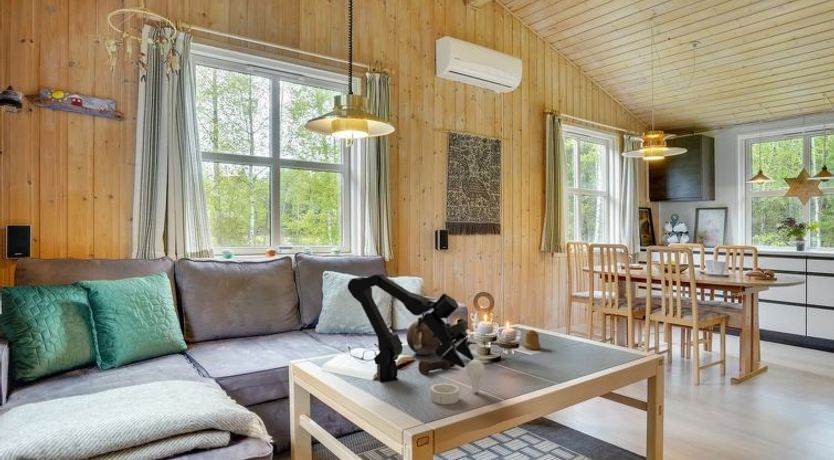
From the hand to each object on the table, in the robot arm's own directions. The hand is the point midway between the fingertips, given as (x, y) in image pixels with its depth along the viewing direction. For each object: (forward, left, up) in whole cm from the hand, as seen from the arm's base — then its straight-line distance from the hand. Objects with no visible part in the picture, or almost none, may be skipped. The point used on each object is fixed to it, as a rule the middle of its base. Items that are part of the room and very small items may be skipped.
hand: (468, 363), depth 162 cm
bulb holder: (-10, -3, -10) cm, 14 cm away
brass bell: (+55, +36, -10) cm, 66 cm away
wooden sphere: (+6, +46, -10) cm, 48 cm away
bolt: (+1, +24, -10) cm, 26 cm away
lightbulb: (+2, -2, -10) cm, 10 cm away
